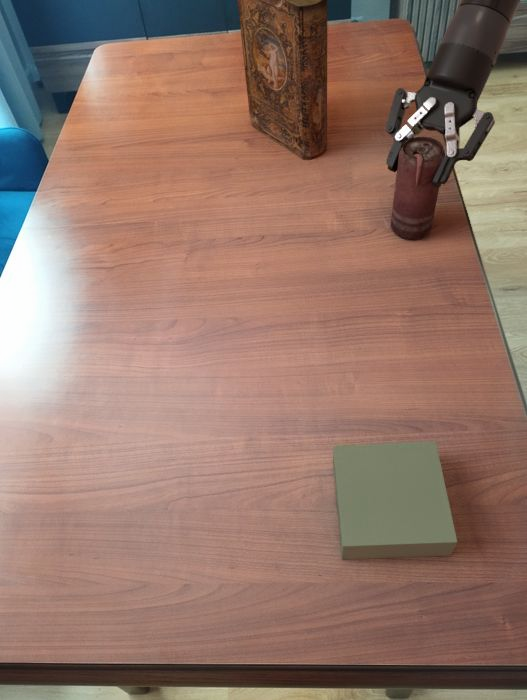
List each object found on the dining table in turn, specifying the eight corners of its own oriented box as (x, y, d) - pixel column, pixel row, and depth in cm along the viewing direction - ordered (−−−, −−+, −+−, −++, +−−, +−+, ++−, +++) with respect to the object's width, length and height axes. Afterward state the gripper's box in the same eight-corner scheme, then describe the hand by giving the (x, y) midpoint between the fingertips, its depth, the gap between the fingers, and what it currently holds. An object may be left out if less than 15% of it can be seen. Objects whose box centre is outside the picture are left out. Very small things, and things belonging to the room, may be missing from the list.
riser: (430, 457, 66) (435, 440, 63) (450, 555, 59) (457, 542, 56) (333, 462, 67) (333, 445, 63) (341, 559, 60) (342, 546, 57)
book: (331, 149, 103) (333, -4, 84) (308, 162, 102) (304, 8, 82) (273, 114, 112) (262, -33, 92) (250, 125, 110) (234, -22, 90)
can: (390, 242, 88) (400, 162, 77) (390, 214, 92) (399, 134, 80) (432, 243, 87) (448, 162, 76) (430, 215, 91) (444, 134, 80)
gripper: (410, 29, 76) (358, 156, 80) (518, 54, 70) (457, 189, 74) (423, 53, 83) (375, 168, 87) (524, 77, 77) (467, 200, 81)
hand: (413, 177), depth 80 cm, fingers closed on can, 6 cm apart
